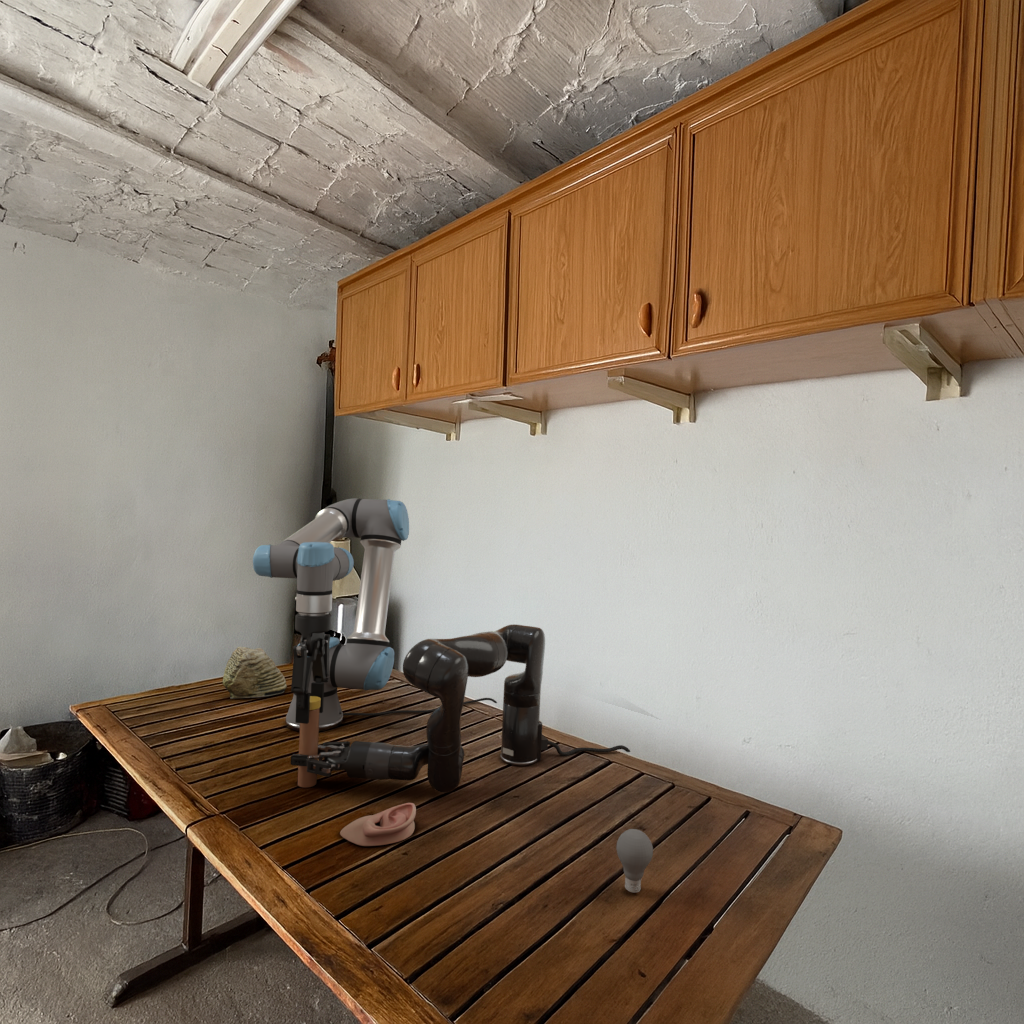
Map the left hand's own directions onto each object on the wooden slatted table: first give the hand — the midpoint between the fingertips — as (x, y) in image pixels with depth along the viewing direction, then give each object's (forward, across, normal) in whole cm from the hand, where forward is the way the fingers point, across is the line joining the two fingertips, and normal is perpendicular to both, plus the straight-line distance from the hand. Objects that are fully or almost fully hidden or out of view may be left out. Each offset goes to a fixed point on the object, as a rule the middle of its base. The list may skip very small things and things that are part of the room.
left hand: (309, 716), depth 139 cm
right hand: (+9, 0, -3) cm, 9 cm away
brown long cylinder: (+15, 0, 0) cm, 15 cm away
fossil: (+15, -54, -43) cm, 70 cm away
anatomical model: (+15, +16, +22) cm, 31 cm away
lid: (-4, 0, 0) cm, 4 cm away
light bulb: (+15, +25, +69) cm, 75 cm away
